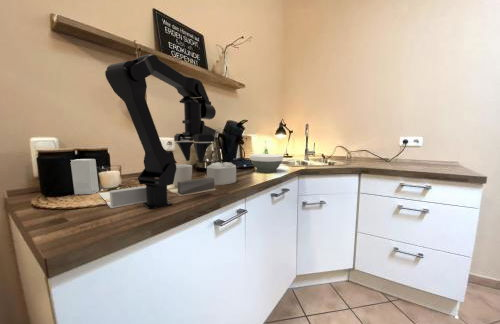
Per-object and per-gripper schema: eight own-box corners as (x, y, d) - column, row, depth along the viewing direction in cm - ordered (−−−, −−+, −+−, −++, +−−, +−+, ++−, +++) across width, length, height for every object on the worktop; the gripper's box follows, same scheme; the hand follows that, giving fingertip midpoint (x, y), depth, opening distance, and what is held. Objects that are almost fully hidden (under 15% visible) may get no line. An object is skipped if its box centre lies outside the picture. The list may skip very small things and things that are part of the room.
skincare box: (99, 191, 81) (97, 158, 80) (92, 194, 77) (89, 159, 75) (81, 192, 81) (78, 158, 79) (72, 195, 76) (69, 160, 75)
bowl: (272, 175, 117) (272, 157, 116) (243, 171, 129) (243, 155, 128) (289, 170, 132) (289, 154, 131) (262, 167, 144) (262, 153, 143)
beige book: (215, 189, 84) (215, 178, 84) (180, 196, 75) (179, 183, 74) (190, 181, 99) (190, 171, 98) (158, 186, 90) (158, 175, 89)
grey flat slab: (161, 199, 71) (160, 185, 71) (110, 208, 62) (109, 192, 62) (142, 188, 86) (141, 177, 86) (99, 194, 77) (98, 181, 76)
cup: (165, 184, 91) (164, 165, 91) (183, 181, 97) (182, 163, 96) (177, 188, 84) (177, 167, 83) (196, 185, 89) (195, 165, 88)
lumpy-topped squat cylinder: (204, 182, 99) (203, 162, 98) (227, 178, 108) (227, 160, 107) (218, 186, 91) (217, 165, 90) (241, 181, 100) (241, 162, 99)
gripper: (227, 117, 77) (227, 162, 79) (199, 120, 90) (200, 158, 92) (198, 115, 69) (200, 165, 71) (173, 118, 83) (174, 160, 85)
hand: (194, 161), depth 80 cm, fingers open, 9 cm apart
